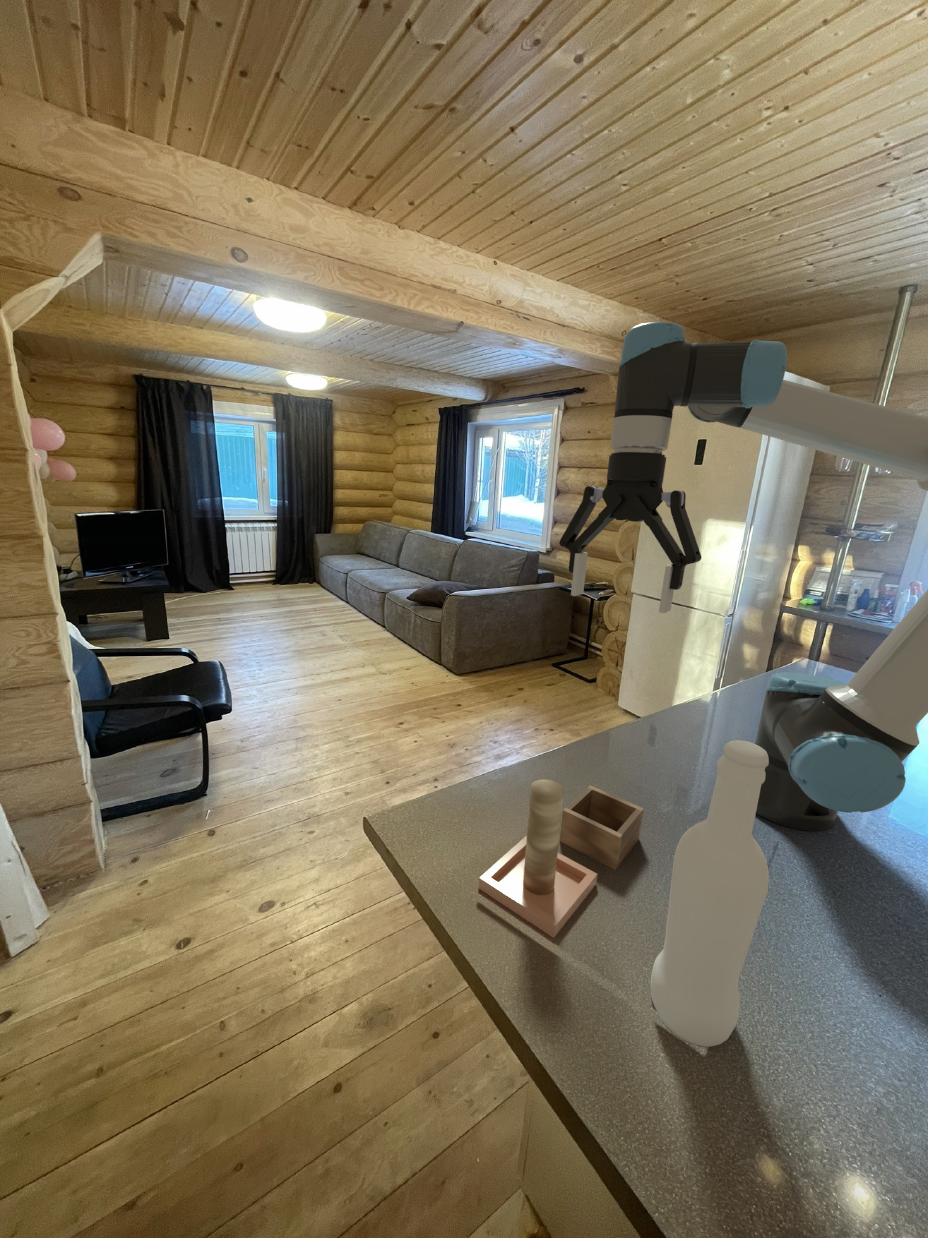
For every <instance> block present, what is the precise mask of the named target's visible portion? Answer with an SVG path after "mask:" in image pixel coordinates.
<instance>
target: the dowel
mask: <svg viewBox="0 0 928 1238" xmlns="http://www.w3.org/2000/svg"><path fill="white" fill-rule="evenodd" d="M529 791H530V793H529V802H528V805H529V806H528V816H527V817H528V818H527V828H526V829H527V831H526V835H527V840H526V852H525V865H524V877H523V884H524V886H525V888H526V889H527V890H528V891H529V892H531V893H533V894H536V895H547V894H549V893H551V892H552V891H553V889H554V884H555V874H556V864H557V854H558V853H559V845H560V844H559V842H560V832H561V823H562V815H563V802H564V795H565V793H564V792H565V790H564V787H563V786H562V785H561V784H560V783H558V782H557V781H555V780H552V779H538V780H535V781H533V782H532V783H531V785H530V790H529Z"/></svg>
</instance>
